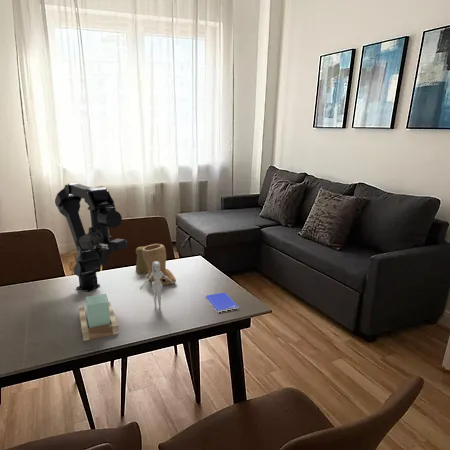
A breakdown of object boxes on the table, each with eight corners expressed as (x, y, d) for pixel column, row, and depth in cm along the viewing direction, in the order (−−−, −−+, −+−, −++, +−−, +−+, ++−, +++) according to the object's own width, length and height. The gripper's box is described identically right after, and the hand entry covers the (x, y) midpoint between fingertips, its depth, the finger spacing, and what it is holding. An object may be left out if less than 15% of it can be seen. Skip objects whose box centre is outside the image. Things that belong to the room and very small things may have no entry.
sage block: (88, 326, 115) (85, 296, 112) (107, 322, 118) (105, 293, 115) (89, 335, 110) (87, 305, 107) (110, 331, 112) (108, 301, 110)
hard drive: (239, 306, 130) (225, 292, 141) (217, 310, 127) (205, 295, 138) (239, 310, 131) (225, 296, 142) (217, 314, 128) (205, 299, 139)
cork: (152, 269, 165) (151, 246, 162) (145, 274, 159) (144, 250, 156) (140, 267, 167) (139, 244, 164) (132, 272, 161) (131, 248, 158)
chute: (79, 317, 122) (78, 306, 121) (110, 311, 127) (109, 301, 126) (83, 344, 108) (82, 332, 107) (118, 336, 112) (118, 325, 111)
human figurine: (142, 316, 124) (140, 266, 119) (139, 312, 127) (137, 263, 122) (175, 308, 130) (174, 260, 125) (171, 304, 133) (170, 257, 128)
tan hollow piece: (141, 275, 158) (140, 241, 155) (168, 271, 163) (168, 239, 159) (147, 289, 145) (145, 253, 141) (176, 285, 149) (176, 250, 145)
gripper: (61, 226, 126) (67, 269, 129) (104, 230, 118) (108, 276, 122) (86, 219, 135) (90, 260, 139) (126, 223, 128) (130, 266, 132)
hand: (103, 265), depth 133 cm, fingers closed
